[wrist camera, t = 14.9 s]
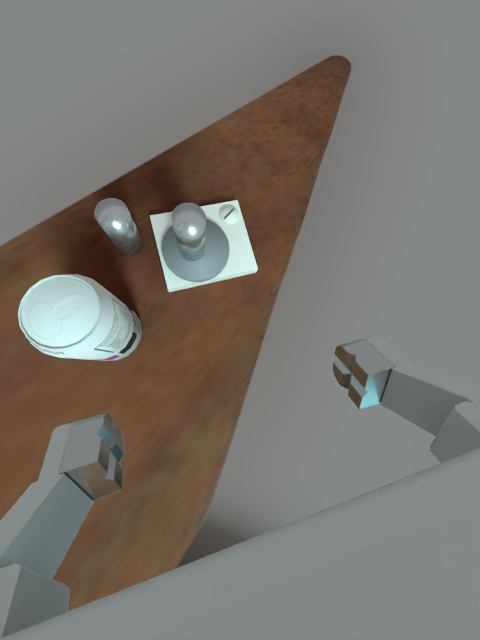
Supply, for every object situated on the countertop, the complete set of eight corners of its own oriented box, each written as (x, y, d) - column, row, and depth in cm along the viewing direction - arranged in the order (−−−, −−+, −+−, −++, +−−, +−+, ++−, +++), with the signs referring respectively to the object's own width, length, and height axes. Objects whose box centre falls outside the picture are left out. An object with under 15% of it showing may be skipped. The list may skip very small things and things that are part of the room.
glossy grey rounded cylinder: (181, 263, 40) (176, 236, 32) (175, 238, 41) (168, 205, 32) (208, 258, 41) (209, 230, 32) (201, 233, 41) (201, 199, 33)
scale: (169, 292, 42) (166, 287, 39) (151, 220, 43) (148, 211, 41) (256, 272, 44) (259, 266, 41) (236, 205, 46) (238, 196, 43)
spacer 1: (119, 257, 42) (97, 230, 33) (113, 233, 42) (91, 200, 34) (145, 252, 42) (131, 224, 34) (140, 228, 43) (124, 195, 34)
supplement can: (102, 372, 38) (39, 375, 24) (72, 323, 39) (-7, 297, 24) (153, 340, 40) (124, 325, 25) (124, 294, 41) (79, 253, 26)
